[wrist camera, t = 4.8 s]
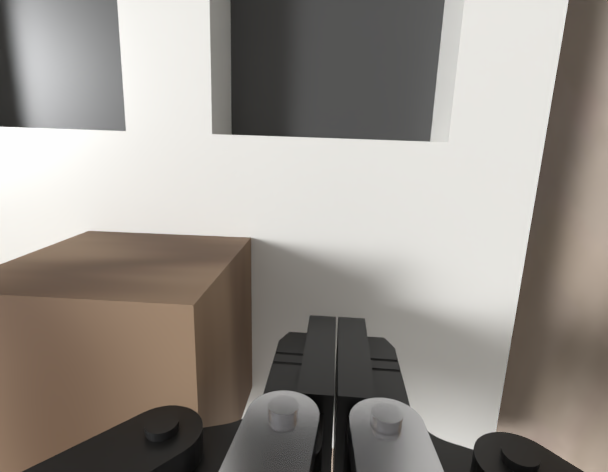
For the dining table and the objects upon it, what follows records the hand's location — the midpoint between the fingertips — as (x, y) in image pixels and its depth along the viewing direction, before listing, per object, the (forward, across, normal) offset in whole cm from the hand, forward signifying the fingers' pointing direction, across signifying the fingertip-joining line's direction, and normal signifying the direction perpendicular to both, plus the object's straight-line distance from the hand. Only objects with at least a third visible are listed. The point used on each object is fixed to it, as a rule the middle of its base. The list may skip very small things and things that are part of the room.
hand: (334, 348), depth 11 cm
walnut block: (+1, +5, 0) cm, 5 cm away
